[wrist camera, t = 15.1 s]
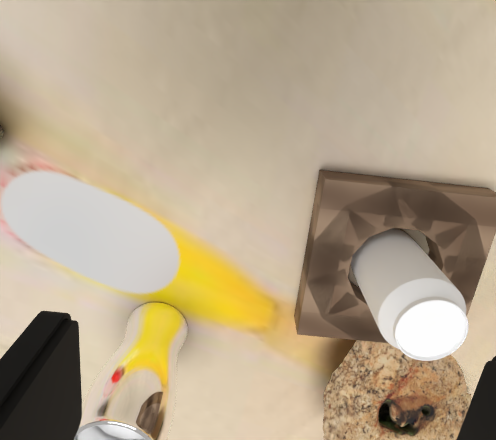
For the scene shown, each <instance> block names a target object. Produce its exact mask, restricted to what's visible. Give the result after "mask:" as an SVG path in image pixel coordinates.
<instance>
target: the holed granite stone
mask: <svg viewBox="0 0 496 440" xmlns="http://www.w3.org/2000/svg"><path fill="white" fill-rule="evenodd" d="M467 392H468V391H467V387H466V383H465V380H464V375H463V373H462V371H461V369H460V367H459V365H458V364H457V362H456V360H455V359H454V358H453V357H452V356H451V355H448V356H446V357H444V358H441V359H437V360H432V361H421V360H416V359H413V358H410V357H408V356H407V355H405V354H404V353H403V352H402V351H401V350H400V349H397V348H395V347H394V346H392V345H391V344H389V343H381V342H371V341H361V340H357V341H356V342H355V343H354V345H353V347H352V348H351V349H350V351H349V352H348V354H347V356H346V357H345V358H344V360H343V363H341V364H340V365H339V367H338V368H337V369H336V370H335V371H334V372H333V373H332V376H331V379H330V381H329V382H328V385H327V387H326V389H325V392H324V419H323V431H324V440H457V437H458V434H459V432H460V429H461V427H462V424H463V421H464V419H465V416H466V414H467V411H468V408H469V406H470V403H471V394H468V393H467ZM384 403H387V404H384Z"/></svg>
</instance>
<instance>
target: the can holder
mask: <svg viewBox="0 0 496 440" xmlns="http://www.w3.org/2000/svg"><path fill="white" fill-rule="evenodd" d="M392 228H402V229H411V230H419V231H420V232H422V233H423V234H424V235H425V236H426V239H427V242H428V246H429V249H430V252H429V255H428V256H429V258H430V259H431V260H432V261H433V262H434V263H435V264H436V265H437V266H438V268H439V269H440V270H441V271H442V272H443V273H444V274H445V275H446V277H447V278H448V279H449V280H450V281H451V282H452V283H453V285H454V286H455V287H456V288H457V289H458V290H459V291H460V293H461V294H462V296H463V298H464V300H465V304H466V317H467V314H468V311H469V308H470V305H471V302H472V299H473V297H474V294H475V291H476V288H477V285H478V282H479V279H480V276H481V273H482V270H483V268H484V265H485V262H486V259H487V256H488V253H489V250H490V247H491V244H492V241H493V239H494V236H495V233H496V193H495V192H494V191H492V190H490V189H488V188H480V187H471V186H462V185H452V184H443V183H434V182H425V181H416V180H407V179H397V178H388V177H379V176H370V175H361V174H352V173H342V172H333V171H324V170H320V171H319V177H318V182H317V188H316V194H315V200H314V205H313V211H312V217H311V223H310V228H309V234H308V240H307V246H306V252H305V257H304V263H303V269H302V275H301V280H300V286H299V292H298V298H297V303H296V309H295V315H294V317H295V323H296V329H297V334H299V335H309V336H320V337H330V338H340V339H350V340H361V341H371V342H381V343H388V342H387V341H386V340H385V339H384V337H383V336H382V334H381V332H380V330H379V328H378V326H377V324H376V322H375V320H374V317H373V315H372V313H371V311H370V309H369V307H368V305H367V302H366V300H365V298H364V296H363V294H362V292H361V289H360V288H359V287H357V286H356V285H354V284H353V283H352V282H350V281H349V279H348V274H349V269H350V264H351V260H352V255H353V254H354V253H355V252H356V251H357V250H358V249H359V248H360V247H361V246H362V244H363V243H364V242H365V241H366V240H367V239H368V238H369V237H371V236H373V235H376V234H378V233H381V232H384V231H386V230H389V229H392Z"/></svg>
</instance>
